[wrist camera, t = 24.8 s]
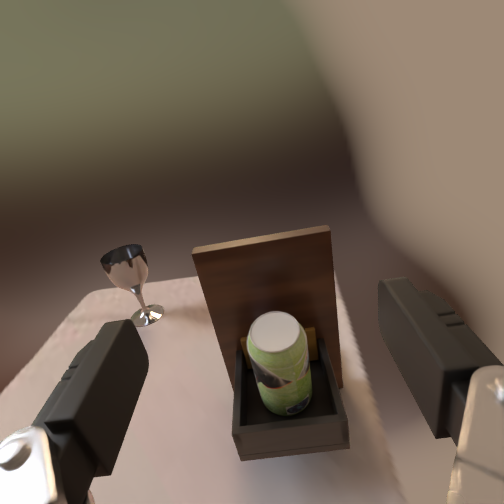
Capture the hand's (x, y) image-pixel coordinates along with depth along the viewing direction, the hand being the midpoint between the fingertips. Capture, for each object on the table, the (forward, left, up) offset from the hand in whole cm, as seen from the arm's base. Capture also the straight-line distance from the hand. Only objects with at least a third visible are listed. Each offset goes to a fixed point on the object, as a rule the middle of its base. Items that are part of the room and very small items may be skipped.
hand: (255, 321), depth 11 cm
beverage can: (+14, +9, -26) cm, 31 cm away
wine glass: (+26, +48, -32) cm, 64 cm away
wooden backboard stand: (+18, +11, -32) cm, 38 cm away
